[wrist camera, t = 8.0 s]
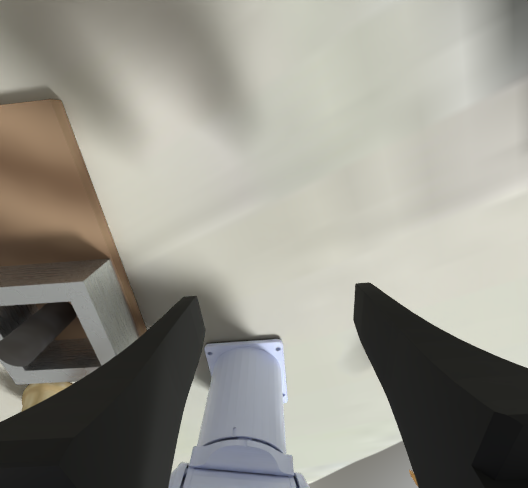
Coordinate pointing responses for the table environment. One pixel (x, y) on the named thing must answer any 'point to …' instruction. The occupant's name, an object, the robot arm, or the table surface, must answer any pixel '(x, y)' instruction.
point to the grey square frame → (85, 305)
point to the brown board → (49, 218)
